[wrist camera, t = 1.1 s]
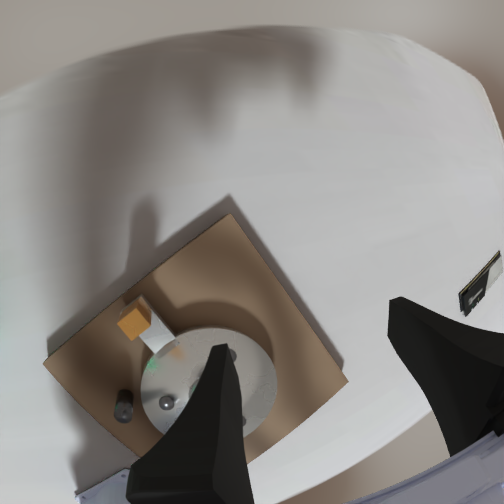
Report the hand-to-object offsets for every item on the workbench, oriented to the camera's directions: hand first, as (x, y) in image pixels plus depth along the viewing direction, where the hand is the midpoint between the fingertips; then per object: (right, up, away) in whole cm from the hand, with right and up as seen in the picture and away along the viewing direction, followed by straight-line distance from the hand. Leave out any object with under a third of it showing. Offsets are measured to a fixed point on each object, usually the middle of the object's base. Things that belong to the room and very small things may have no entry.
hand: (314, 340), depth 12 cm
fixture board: (-7, -7, +13) cm, 16 cm away
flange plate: (-7, -6, +11) cm, 14 cm away
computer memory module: (+33, -1, +26) cm, 42 cm away
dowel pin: (-13, -8, +9) cm, 18 cm away
